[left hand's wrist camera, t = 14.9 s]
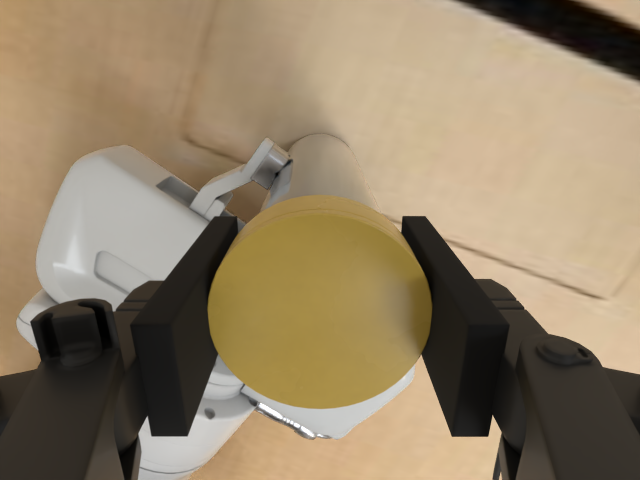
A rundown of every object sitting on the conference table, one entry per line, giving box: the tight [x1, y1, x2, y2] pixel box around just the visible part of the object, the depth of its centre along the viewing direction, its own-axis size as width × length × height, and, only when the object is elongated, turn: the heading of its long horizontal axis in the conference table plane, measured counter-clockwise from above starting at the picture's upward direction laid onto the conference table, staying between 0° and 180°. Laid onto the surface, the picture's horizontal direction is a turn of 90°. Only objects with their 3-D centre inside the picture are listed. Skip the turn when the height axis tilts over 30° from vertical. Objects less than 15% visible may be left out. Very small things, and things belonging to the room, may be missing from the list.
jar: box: [259, 134, 381, 214], centre depth 19 cm, size 5×5×17 cm
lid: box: [207, 195, 432, 409], centre depth 11 cm, size 6×6×2 cm
